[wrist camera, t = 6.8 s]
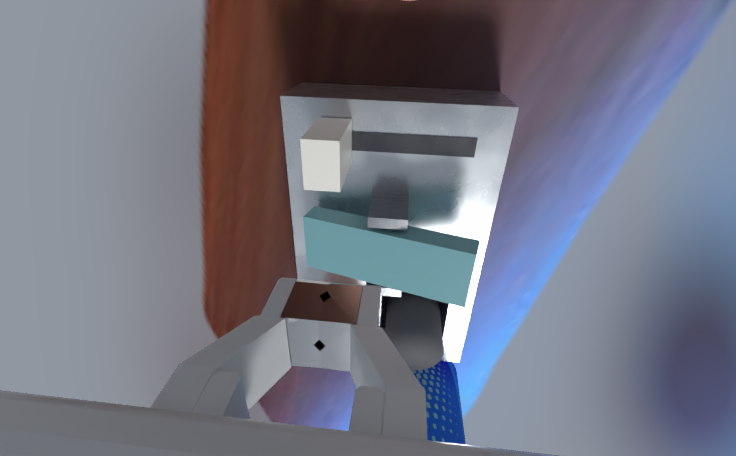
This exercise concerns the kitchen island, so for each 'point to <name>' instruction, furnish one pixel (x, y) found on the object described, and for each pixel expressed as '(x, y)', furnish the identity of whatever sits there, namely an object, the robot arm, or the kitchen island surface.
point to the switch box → (406, 170)
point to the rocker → (391, 255)
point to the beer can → (442, 403)
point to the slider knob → (326, 154)
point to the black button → (415, 329)
